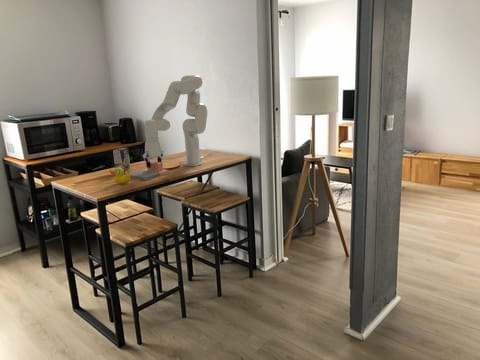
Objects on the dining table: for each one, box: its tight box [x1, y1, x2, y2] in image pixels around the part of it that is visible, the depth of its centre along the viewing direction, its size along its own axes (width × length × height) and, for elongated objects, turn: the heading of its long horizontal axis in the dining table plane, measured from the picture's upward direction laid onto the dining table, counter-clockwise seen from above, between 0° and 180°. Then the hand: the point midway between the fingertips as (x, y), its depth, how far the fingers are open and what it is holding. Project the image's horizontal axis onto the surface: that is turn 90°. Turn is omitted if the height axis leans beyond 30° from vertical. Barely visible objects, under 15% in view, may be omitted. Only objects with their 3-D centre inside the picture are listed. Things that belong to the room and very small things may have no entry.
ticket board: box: [129, 169, 160, 182], centre depth 246 cm, size 12×16×2 cm
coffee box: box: [112, 147, 131, 176], centre depth 256 cm, size 9×6×16 cm
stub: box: [142, 160, 170, 177], centre depth 254 cm, size 8×16×7 cm, turn 56°
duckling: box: [109, 167, 131, 185], centre depth 231 cm, size 11×5×10 cm, turn 96°
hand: (154, 166), depth 253 cm, fingers open, 9 cm apart
